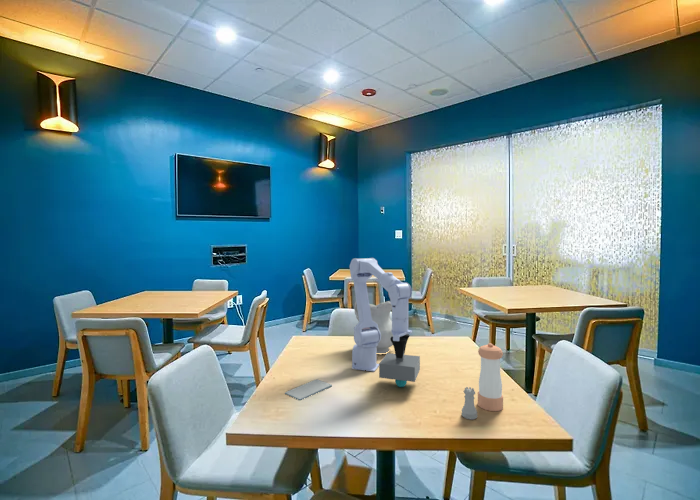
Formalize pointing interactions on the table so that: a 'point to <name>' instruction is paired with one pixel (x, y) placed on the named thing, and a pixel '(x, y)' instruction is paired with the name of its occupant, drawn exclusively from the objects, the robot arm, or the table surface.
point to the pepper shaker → (490, 378)
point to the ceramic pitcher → (381, 324)
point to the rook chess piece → (469, 404)
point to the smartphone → (308, 389)
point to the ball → (400, 383)
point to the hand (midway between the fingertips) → (400, 356)
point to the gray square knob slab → (399, 367)
